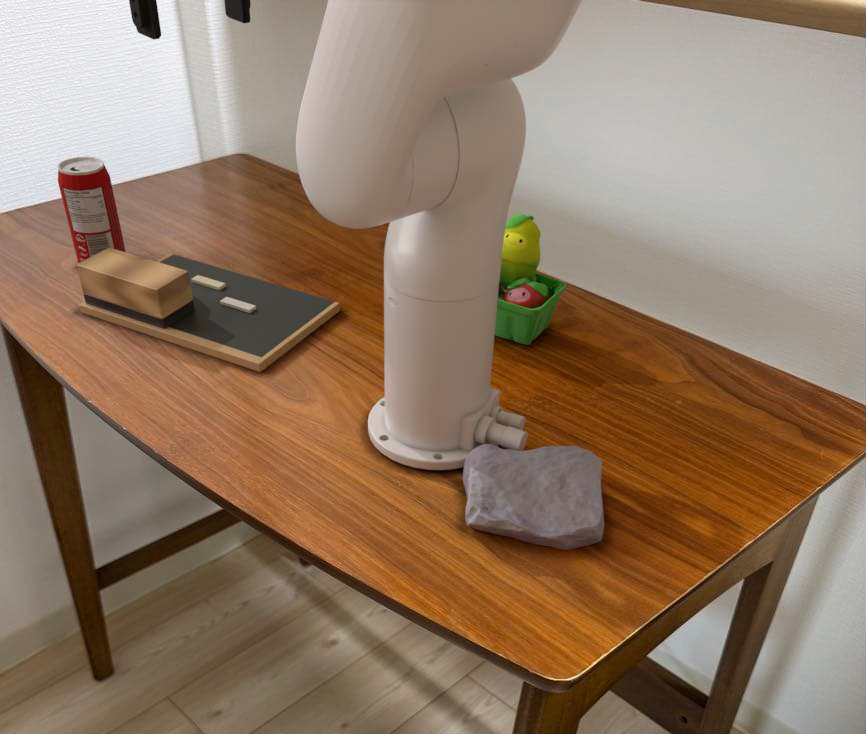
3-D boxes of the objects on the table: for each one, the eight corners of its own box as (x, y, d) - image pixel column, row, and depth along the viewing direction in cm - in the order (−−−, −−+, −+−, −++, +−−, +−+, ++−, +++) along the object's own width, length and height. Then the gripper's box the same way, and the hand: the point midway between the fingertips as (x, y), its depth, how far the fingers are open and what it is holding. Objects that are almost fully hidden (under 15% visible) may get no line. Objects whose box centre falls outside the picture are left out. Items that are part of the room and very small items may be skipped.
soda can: (112, 250, 110) (90, 149, 102) (136, 265, 107) (115, 163, 99) (70, 263, 107) (44, 160, 99) (94, 279, 104) (69, 175, 96)
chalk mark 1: (226, 286, 102) (225, 283, 102) (219, 290, 101) (219, 287, 101) (198, 278, 103) (197, 274, 103) (191, 282, 103) (190, 278, 102)
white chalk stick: (256, 308, 99) (256, 305, 98) (249, 313, 98) (249, 310, 97) (226, 299, 100) (226, 296, 100) (220, 304, 99) (219, 300, 99)
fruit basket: (439, 325, 99) (443, 225, 91) (478, 294, 105) (484, 197, 97) (532, 355, 95) (545, 253, 87) (567, 321, 101) (581, 222, 93)
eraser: (195, 309, 98) (188, 270, 95) (164, 329, 95) (157, 289, 92) (117, 285, 102) (109, 247, 99) (85, 303, 98) (75, 264, 95)
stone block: (606, 566, 74) (596, 473, 80) (614, 531, 70) (604, 436, 76) (461, 563, 74) (462, 471, 80) (461, 528, 70) (463, 434, 76)
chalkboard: (340, 310, 101) (339, 302, 100) (260, 372, 91) (259, 364, 90) (171, 260, 109) (169, 252, 108) (80, 312, 99) (78, 304, 98)
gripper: (90, -204, 66) (133, 52, 78) (281, -207, 75) (293, 23, 87) (42, -213, 70) (90, 32, 82) (229, -215, 79) (248, 6, 91)
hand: (195, 27), depth 84 cm, fingers open, 9 cm apart
